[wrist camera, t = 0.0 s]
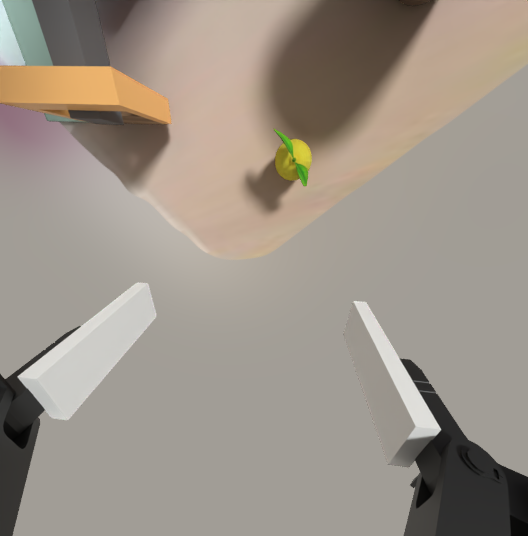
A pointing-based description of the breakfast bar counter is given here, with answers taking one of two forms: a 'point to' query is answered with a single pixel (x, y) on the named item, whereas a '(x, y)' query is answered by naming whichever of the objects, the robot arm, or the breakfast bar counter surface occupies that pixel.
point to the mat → (30, 39)
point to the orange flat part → (79, 91)
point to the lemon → (293, 159)
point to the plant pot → (414, 2)
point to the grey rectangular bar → (75, 44)
